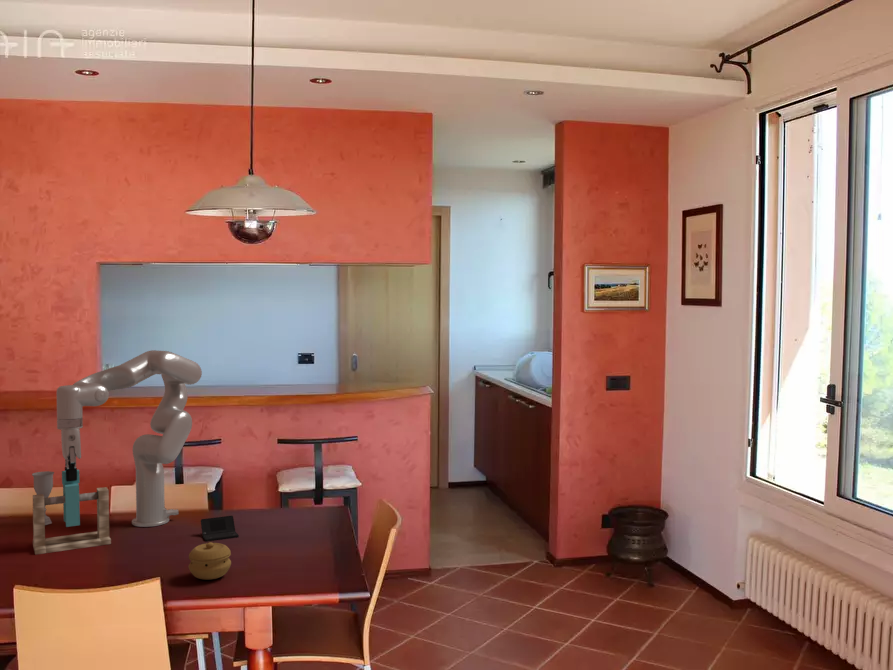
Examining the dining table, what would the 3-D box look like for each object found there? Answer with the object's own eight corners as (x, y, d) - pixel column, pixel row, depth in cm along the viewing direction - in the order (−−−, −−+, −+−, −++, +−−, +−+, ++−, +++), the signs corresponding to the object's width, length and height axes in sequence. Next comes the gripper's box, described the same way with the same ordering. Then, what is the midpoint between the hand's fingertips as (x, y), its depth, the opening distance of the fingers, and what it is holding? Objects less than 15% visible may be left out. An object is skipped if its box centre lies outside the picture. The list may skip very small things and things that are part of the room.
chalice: (59, 521, 287) (58, 471, 286) (48, 526, 280) (47, 475, 279) (40, 520, 287) (39, 471, 287) (28, 525, 281) (27, 475, 280)
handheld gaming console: (208, 538, 261) (205, 510, 266) (200, 547, 265) (197, 520, 270) (241, 537, 268) (238, 510, 273) (233, 546, 272) (230, 519, 277)
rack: (105, 534, 270) (105, 485, 269) (110, 543, 260) (110, 492, 259) (32, 544, 259) (31, 492, 258) (35, 554, 249) (34, 500, 248)
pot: (237, 578, 227) (237, 544, 227) (196, 587, 220) (196, 551, 220) (223, 567, 237) (222, 534, 236) (183, 575, 230) (182, 541, 230)
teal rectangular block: (78, 518, 264) (77, 467, 263) (81, 524, 256) (80, 472, 256) (62, 520, 262) (60, 469, 261) (64, 527, 254) (63, 474, 253)
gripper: (85, 426, 253) (86, 483, 253) (79, 419, 267) (80, 474, 267) (59, 427, 249) (60, 486, 250) (54, 421, 263) (56, 476, 264)
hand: (71, 479), depth 258 cm, fingers open, 2 cm apart
